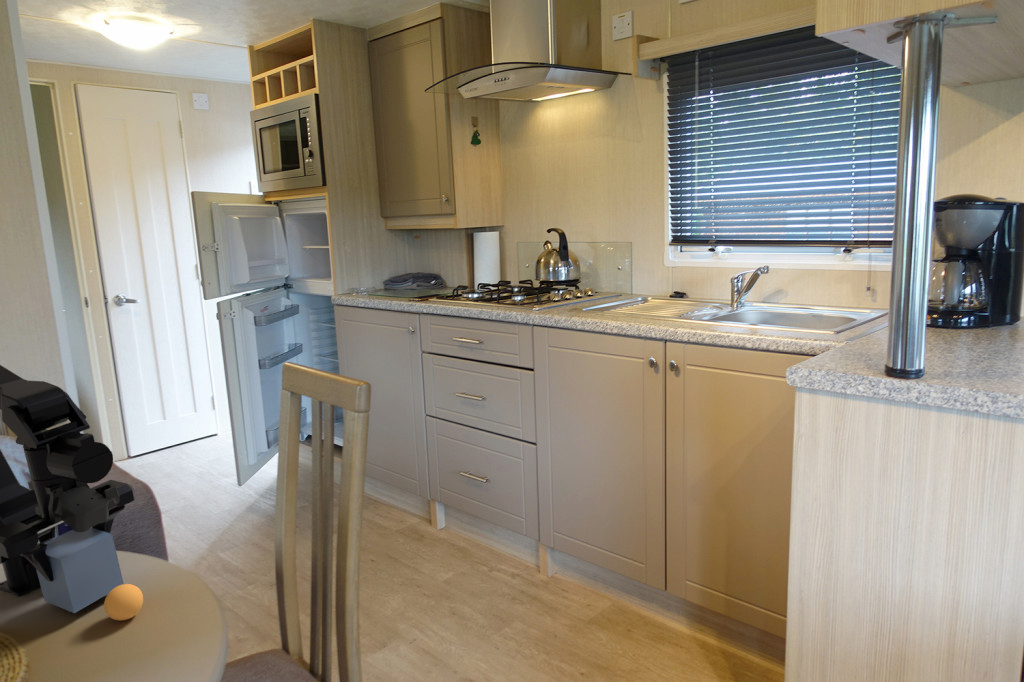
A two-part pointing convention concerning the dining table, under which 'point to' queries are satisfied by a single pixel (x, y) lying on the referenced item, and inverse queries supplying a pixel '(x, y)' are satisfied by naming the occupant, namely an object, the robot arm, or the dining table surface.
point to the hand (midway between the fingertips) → (78, 566)
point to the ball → (123, 602)
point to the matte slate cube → (80, 569)
